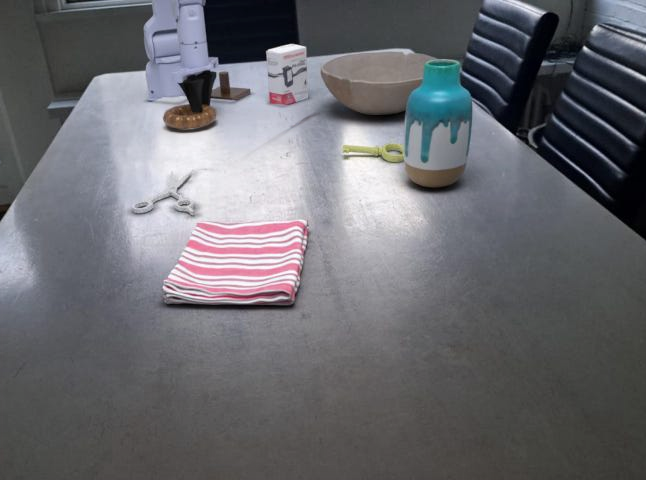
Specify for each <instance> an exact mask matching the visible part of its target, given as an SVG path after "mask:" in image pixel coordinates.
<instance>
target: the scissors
mask: <svg viewBox="0 0 646 480" xmlns="http://www.w3.org/2000/svg"><path fill="white" fill-rule="evenodd" d="M193 172H194V170H191V171H190V172H189V173H187V174H186V175H185V176H183V177H182V178H181V179H180V180H178V181H177V182H176V180H175V176H174V173H173V171H171V173H170V177H169V182H168V187H167V188H166V189H165V190H164V191H162V192H161V193H160V194H158V195H153V196H152V197H151V198H150V199H145V200H141V201H138V202H135V203H133V205H132V207H131V208H132V212H133V213H135V214H144V213H147V212H149V211H152V209H154V203H155V202H157V201H159V200H162V199H165V198H168V197H170V196H171V197H173V198H175V199H177V200H176V201H175V202H173V207H174V209H175V210H176V211H178V212H187V213H188V214H189V215H190V216H195V209H194V208H195V202H194V200H192V199H190V198H184V197H183V195H182V194H178V192H177V191H178V188H179V187H181V186H182V184H184V182H186V180H188V178H189V177H190V176H191V174H192V173H193ZM183 205H184V206H183Z"/></svg>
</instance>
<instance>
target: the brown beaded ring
mask: <svg viewBox="0 0 646 480" xmlns="http://www.w3.org/2000/svg"><path fill="white" fill-rule="evenodd" d="M217 113H218V112H217V110H216V108H215V107H213V106H211V105H210V106H209V105H205V104H202V112H201V113H196V112H192V110H191V108H190V105H189V103H186V104H181V105H175V106H173V107H171V108H168V109H166V110H165V111H164V113H163V115H162V120H163V124H165V125H166V126H168V127H169V128H172V129H179V130H189V129H198V128H202V127H203V128H204V127H207V126H208V125H211V124H212V123H214V122H215V121H216V119H217V115H218V114H217Z"/></svg>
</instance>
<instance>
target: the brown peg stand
mask: <svg viewBox="0 0 646 480" xmlns="http://www.w3.org/2000/svg"><path fill="white" fill-rule="evenodd" d="M218 79H219V80H218V82H219V86H218V87H215V88H212V94H211V100H212V99H213V100H223V101H224V100H225V101H239V100H241V99H243V98H246V97H247V96H249V95H251V94H252V92H251V88H245V87H233V86H231V84H230V83H231V82H230V75H229V71H219V72H218Z"/></svg>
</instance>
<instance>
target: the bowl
mask: <svg viewBox="0 0 646 480" xmlns="http://www.w3.org/2000/svg"><path fill="white" fill-rule="evenodd" d="M437 59H438V58H437V57H434V56H431V55H428V54H424V53H418V52H417V53H416V52H409V53H407V54H405V53H404V52H403V51H377V52H375V51H374V52H360V53H359V52H358V53H353V54H346V55H341V56H338V57H335V58H333V59H331V60H329V61H327V62H325V63H324V64H323V65H321V67H320V77H321V79H322V81H323V83H324V85H325V87H326V88H327V90H328V91H329V93H330V94H331V95H332V96H333V97H334V98H335V99H336V100H337V101H338V102H339V103H341V104H342V105H344V106H345V107H346V108H347V109H350V110H353V111H355V112H357V113H360V114H363V115H368V116H369V115H370V116H388V115H395V114H399V113H403V112H406V106H407V102H408V98H409V96H410V94H411V93H412V91H413V90H415V89H417V88H418V87H420V85H421V84H422V80H423V73H424V65H425V63H426V62H427V61H430V60H437Z"/></svg>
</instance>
